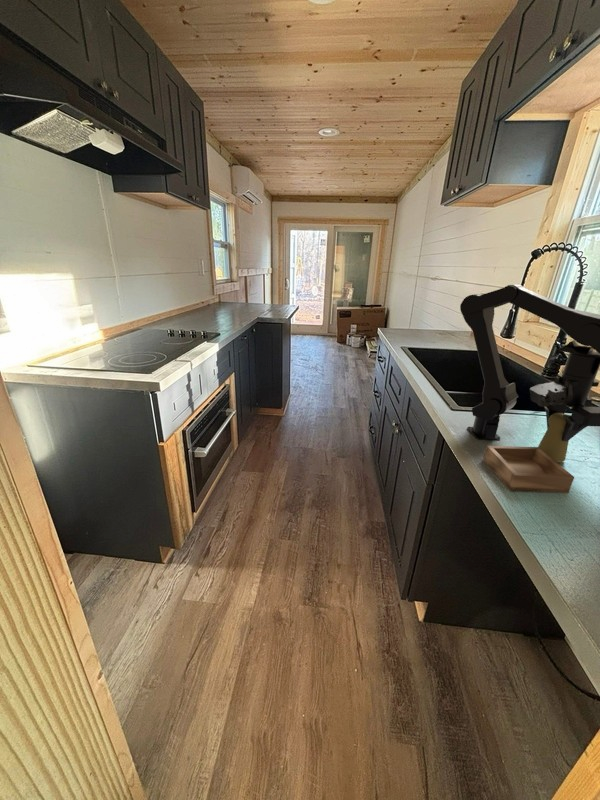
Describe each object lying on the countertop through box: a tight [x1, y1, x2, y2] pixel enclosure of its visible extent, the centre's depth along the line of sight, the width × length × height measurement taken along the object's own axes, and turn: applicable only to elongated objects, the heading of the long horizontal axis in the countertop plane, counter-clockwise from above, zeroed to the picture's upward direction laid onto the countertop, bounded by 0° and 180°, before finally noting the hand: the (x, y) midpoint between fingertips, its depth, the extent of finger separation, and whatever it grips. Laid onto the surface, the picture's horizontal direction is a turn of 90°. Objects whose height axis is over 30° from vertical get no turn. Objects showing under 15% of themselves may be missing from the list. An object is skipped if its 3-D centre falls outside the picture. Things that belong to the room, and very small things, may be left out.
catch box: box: [482, 445, 575, 494], centre depth 74 cm, size 12×12×4 cm
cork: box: [537, 413, 570, 463], centre depth 79 cm, size 6×6×11 cm
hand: (557, 435), depth 79 cm, fingers closed on cork, 5 cm apart
